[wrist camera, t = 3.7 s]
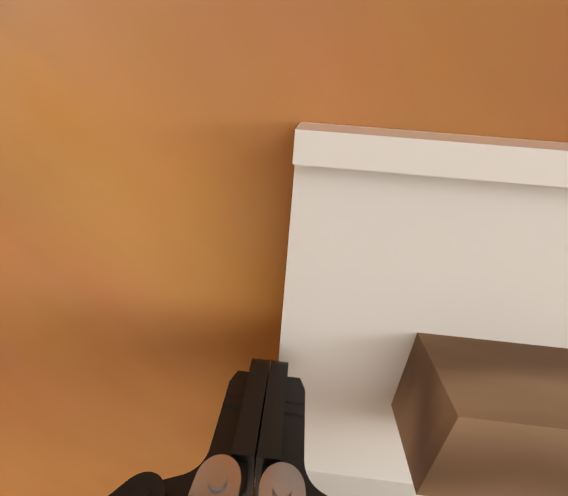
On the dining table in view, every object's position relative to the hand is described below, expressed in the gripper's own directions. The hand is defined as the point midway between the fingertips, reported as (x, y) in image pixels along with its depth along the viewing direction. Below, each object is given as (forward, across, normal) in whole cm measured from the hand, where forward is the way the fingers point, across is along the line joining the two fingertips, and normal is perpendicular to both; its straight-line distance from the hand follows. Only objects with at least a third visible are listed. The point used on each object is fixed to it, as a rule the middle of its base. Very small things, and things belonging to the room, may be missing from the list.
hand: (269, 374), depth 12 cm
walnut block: (+1, -9, 0) cm, 9 cm away
